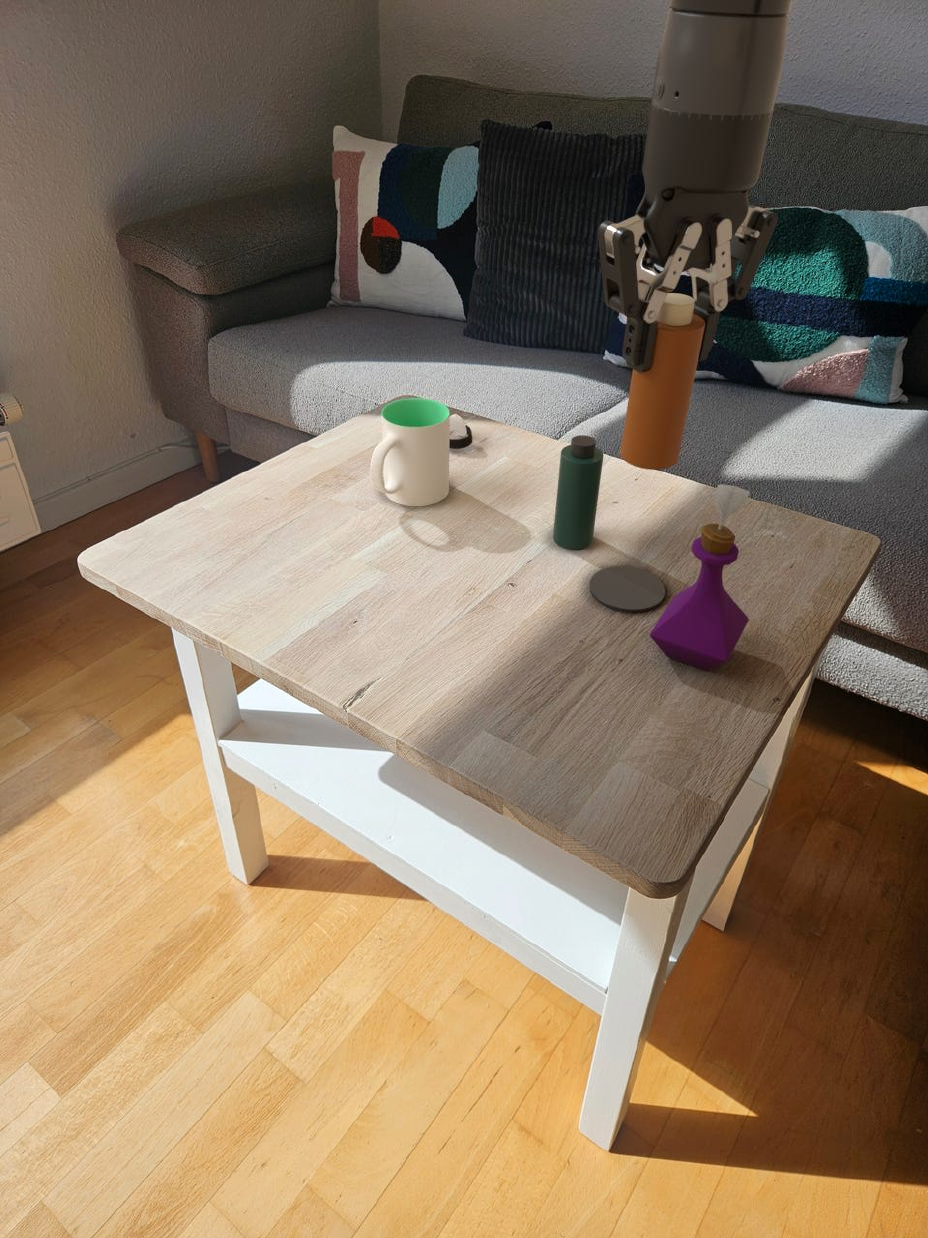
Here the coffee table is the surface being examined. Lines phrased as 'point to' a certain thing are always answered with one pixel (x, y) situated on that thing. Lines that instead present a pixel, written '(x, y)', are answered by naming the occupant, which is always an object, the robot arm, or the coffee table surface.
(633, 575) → the slate coaster
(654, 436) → the amber bottle
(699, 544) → the perfume bottle
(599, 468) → the green bottle
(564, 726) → the coffee table surface
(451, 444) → the watch
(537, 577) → the coffee table surface
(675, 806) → the coffee table surface
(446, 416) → the mug
